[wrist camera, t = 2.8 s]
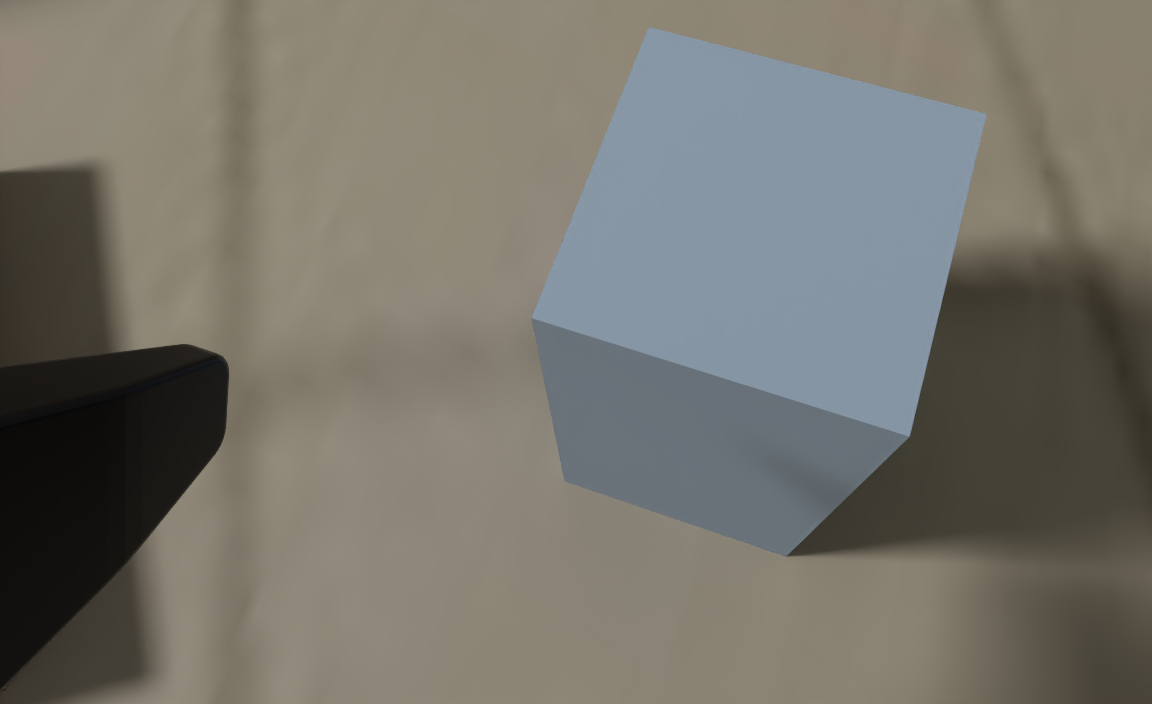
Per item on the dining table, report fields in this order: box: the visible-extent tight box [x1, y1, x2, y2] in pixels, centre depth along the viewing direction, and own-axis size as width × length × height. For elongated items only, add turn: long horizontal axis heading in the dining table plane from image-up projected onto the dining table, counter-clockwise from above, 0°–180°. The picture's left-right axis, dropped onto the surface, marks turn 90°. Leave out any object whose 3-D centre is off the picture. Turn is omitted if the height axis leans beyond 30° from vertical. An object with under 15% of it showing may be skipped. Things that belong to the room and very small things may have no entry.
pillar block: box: [532, 27, 986, 556], centre depth 17 cm, size 5×5×9 cm
